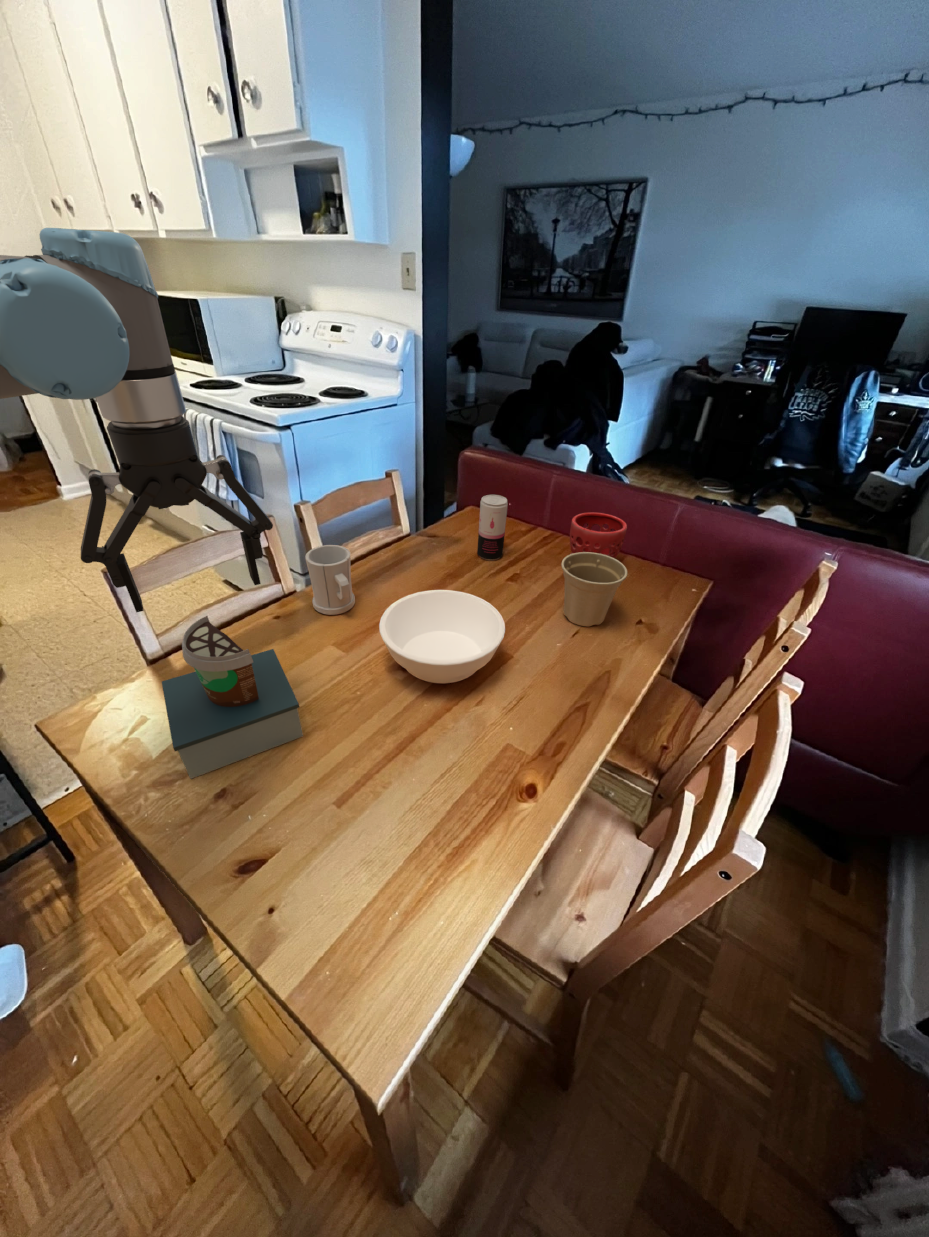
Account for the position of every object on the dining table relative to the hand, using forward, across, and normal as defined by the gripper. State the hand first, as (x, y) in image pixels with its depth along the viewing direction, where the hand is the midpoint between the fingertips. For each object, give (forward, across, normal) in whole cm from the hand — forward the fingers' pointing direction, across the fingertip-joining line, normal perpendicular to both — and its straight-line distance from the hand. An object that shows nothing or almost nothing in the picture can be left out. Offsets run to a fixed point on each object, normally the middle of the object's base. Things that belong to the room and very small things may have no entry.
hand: (200, 592), depth 64 cm
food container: (+18, +1, 0) cm, 18 cm away
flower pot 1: (+25, -87, -13) cm, 91 cm away
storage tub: (+25, 0, -1) cm, 25 cm away
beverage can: (+25, -67, -29) cm, 77 cm away
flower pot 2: (+25, -70, +3) cm, 74 cm away
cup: (+25, -25, -26) cm, 44 cm away
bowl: (+25, -36, +1) cm, 44 cm away
